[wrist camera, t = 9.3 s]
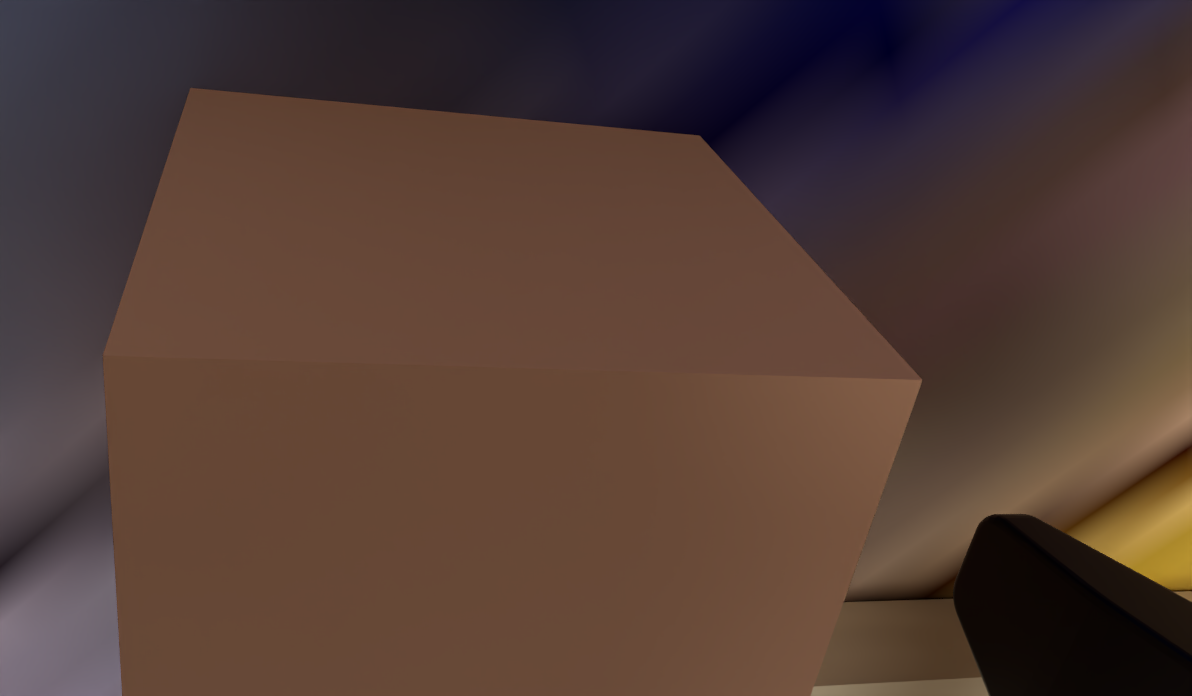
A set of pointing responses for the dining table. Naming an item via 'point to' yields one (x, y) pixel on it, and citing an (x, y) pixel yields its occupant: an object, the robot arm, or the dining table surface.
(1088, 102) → the dining table surface
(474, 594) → the terracotta block
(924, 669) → the birch base
